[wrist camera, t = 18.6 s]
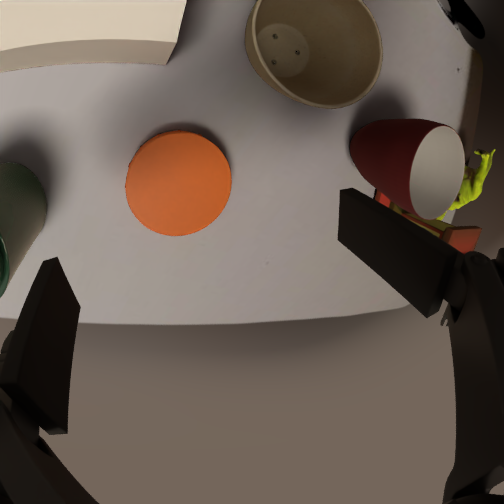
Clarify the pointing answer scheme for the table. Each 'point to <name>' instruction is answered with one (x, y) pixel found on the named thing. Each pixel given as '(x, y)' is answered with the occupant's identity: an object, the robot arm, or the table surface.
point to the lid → (178, 183)
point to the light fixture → (439, 227)
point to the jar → (18, 217)
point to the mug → (411, 163)
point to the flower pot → (315, 49)
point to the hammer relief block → (87, 32)
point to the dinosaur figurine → (472, 181)
